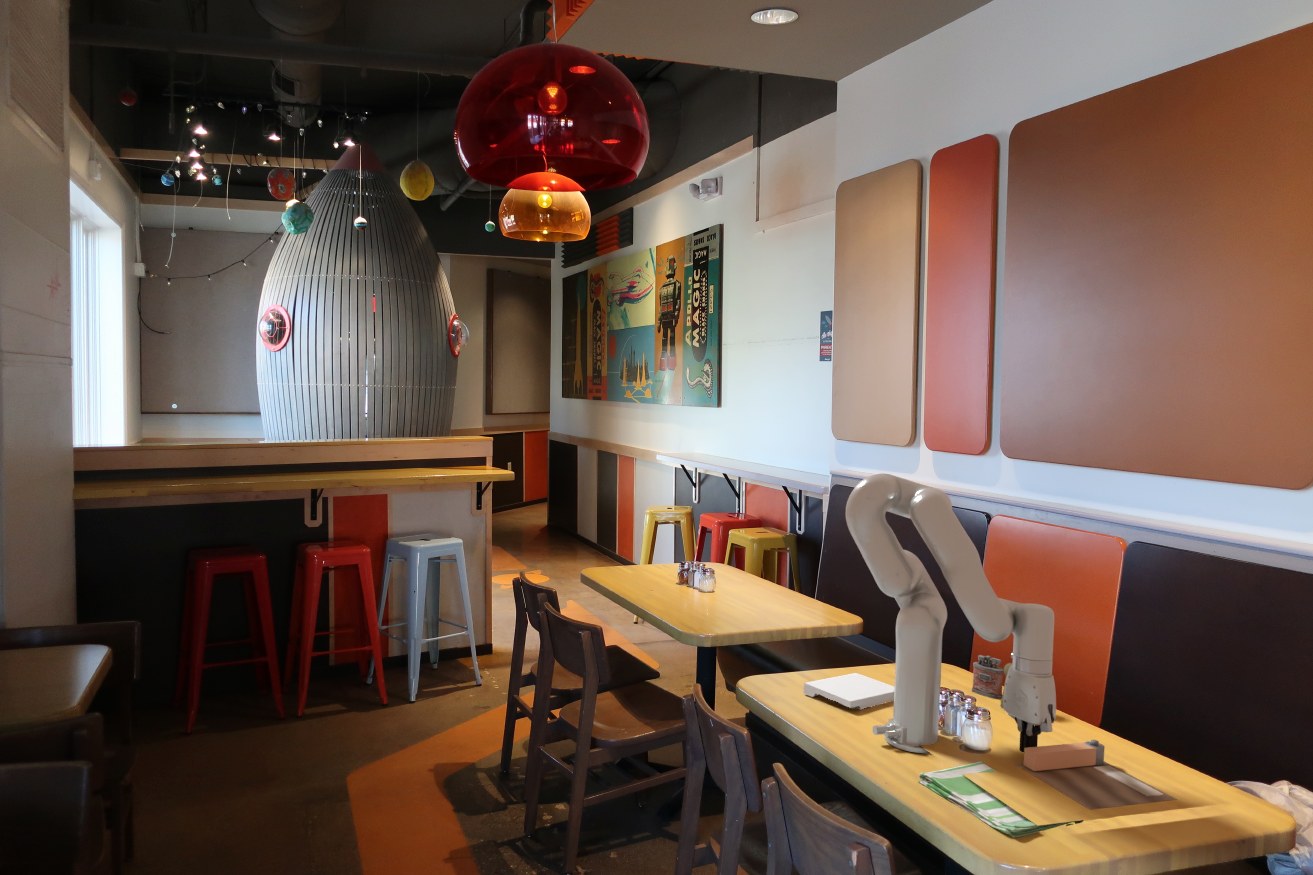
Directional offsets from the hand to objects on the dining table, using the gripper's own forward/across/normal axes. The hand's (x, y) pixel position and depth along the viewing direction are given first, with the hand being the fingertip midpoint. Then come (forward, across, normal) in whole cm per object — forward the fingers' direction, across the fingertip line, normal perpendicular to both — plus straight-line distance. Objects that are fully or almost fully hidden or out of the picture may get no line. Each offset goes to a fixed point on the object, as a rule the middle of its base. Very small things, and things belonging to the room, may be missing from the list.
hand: (1028, 751), depth 175 cm
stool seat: (+3, +13, +4) cm, 13 cm away
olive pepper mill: (+3, -28, +24) cm, 36 cm away
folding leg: (+1, +6, +4) cm, 7 cm away
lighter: (+3, -38, +25) cm, 45 cm away
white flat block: (+3, -46, -11) cm, 47 cm away
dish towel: (+3, +11, -19) cm, 23 cm away
